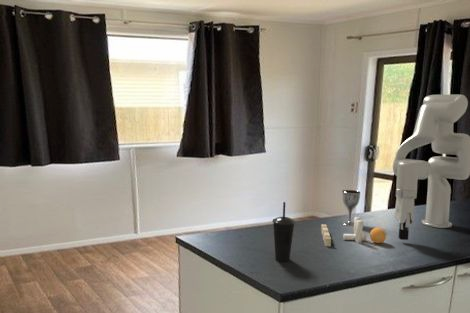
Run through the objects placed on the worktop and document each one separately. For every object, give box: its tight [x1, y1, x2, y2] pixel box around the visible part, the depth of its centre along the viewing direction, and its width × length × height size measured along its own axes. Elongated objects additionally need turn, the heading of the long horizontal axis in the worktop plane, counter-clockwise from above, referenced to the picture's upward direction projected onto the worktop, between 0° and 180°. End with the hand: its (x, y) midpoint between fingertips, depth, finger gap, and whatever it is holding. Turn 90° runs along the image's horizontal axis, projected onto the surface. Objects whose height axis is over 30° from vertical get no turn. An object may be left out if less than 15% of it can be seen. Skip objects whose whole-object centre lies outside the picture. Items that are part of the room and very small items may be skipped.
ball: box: [369, 227, 387, 244], centre depth 163 cm, size 6×6×6 cm
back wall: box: [320, 223, 332, 247], centre depth 168 cm, size 20×2×3 cm, turn 173°
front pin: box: [342, 233, 367, 242], centre depth 167 cm, size 2×2×8 cm
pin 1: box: [353, 216, 362, 234], centre depth 169 cm, size 2×2×8 cm
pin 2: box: [354, 220, 364, 244], centre depth 164 cm, size 2×2×8 cm
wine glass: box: [341, 189, 361, 227], centre depth 191 cm, size 8×8×15 cm
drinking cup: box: [272, 201, 296, 263], centre depth 143 cm, size 8×8×20 cm
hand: (403, 238), depth 164 cm, fingers closed
